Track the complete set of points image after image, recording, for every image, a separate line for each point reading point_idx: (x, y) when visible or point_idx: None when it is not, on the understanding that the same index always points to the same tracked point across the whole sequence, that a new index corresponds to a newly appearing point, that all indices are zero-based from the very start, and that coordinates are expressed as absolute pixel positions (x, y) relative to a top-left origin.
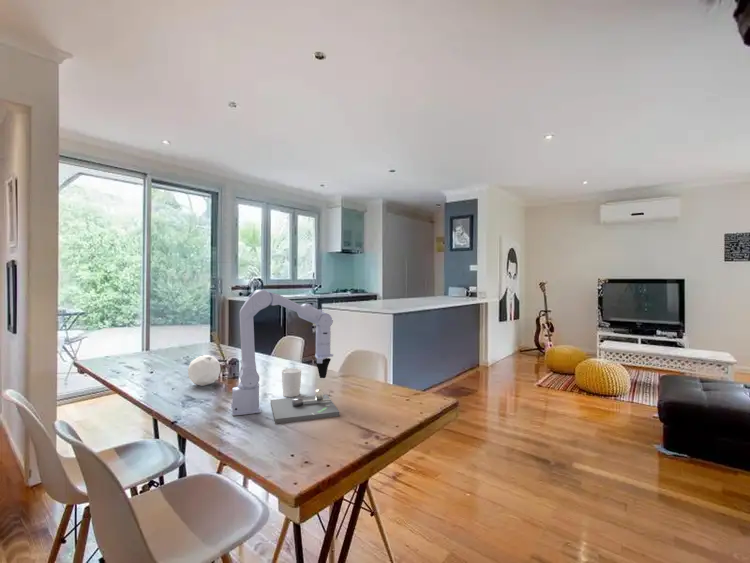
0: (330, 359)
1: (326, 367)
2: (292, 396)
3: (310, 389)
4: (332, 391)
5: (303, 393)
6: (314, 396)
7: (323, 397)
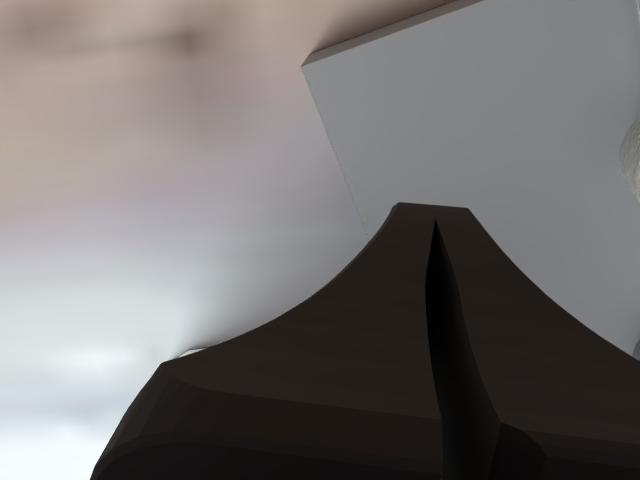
0: (314, 436)
1: (613, 352)
2: None
3: (42, 268)
4: (33, 15)
5: (180, 316)
6: (387, 214)
7: (429, 101)
